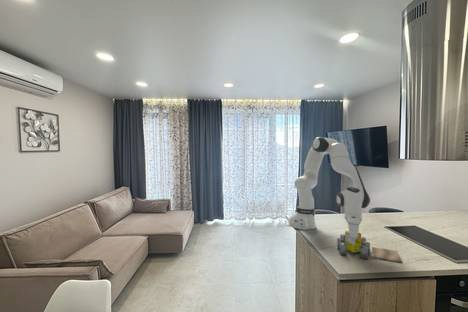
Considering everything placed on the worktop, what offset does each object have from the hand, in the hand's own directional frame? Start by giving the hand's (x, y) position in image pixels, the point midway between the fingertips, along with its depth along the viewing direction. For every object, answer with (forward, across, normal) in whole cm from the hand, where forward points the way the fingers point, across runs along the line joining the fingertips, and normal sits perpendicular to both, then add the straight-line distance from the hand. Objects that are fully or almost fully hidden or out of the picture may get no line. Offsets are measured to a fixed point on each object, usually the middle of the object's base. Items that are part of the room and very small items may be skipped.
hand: (353, 240), depth 130 cm
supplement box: (+6, 0, 0) cm, 6 cm away
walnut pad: (+6, -2, +16) cm, 17 cm away
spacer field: (+6, 0, 0) cm, 6 cm away
